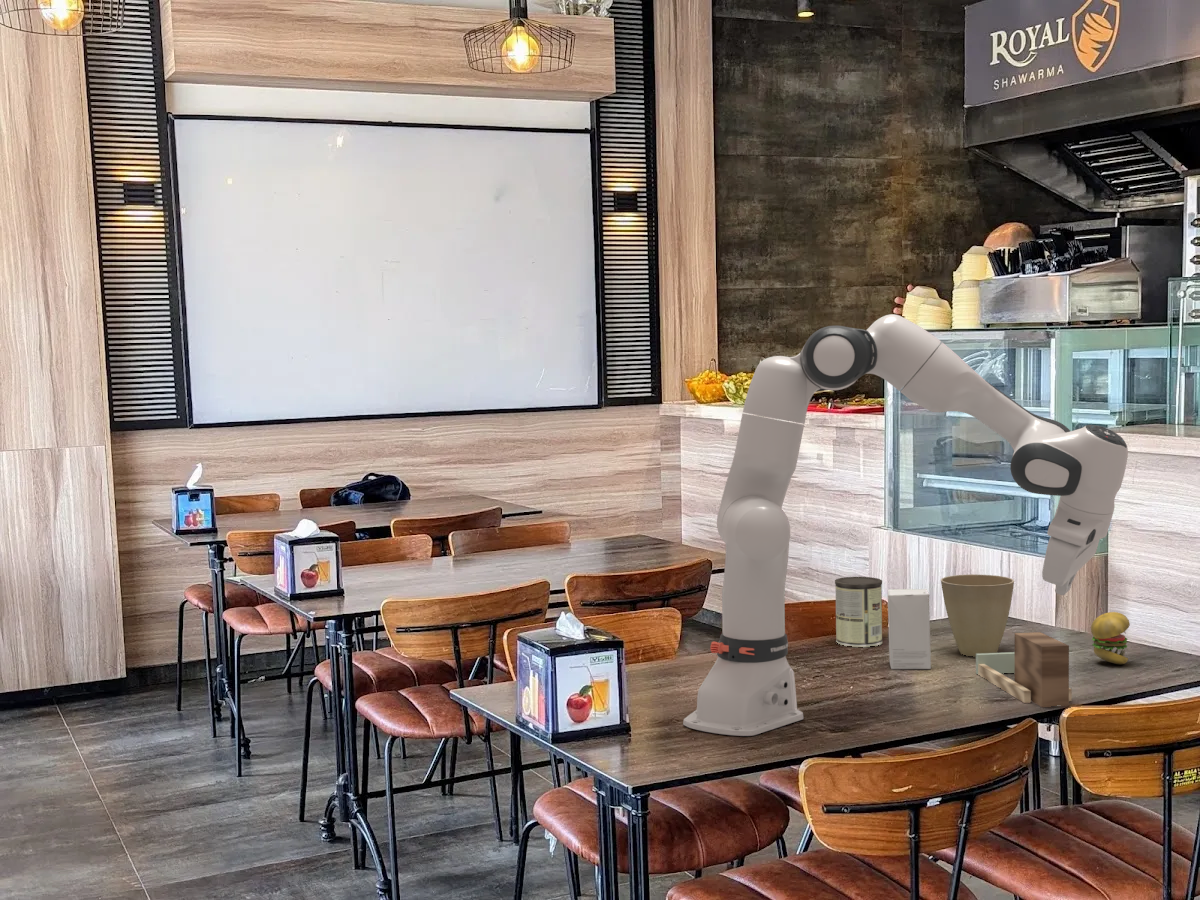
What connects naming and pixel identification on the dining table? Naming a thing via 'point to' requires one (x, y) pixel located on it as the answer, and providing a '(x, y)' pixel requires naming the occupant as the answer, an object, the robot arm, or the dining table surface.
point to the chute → (1008, 684)
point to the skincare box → (909, 629)
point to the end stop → (997, 661)
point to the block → (1042, 668)
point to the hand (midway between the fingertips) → (1061, 591)
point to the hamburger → (1110, 636)
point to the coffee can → (858, 611)
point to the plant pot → (977, 610)
